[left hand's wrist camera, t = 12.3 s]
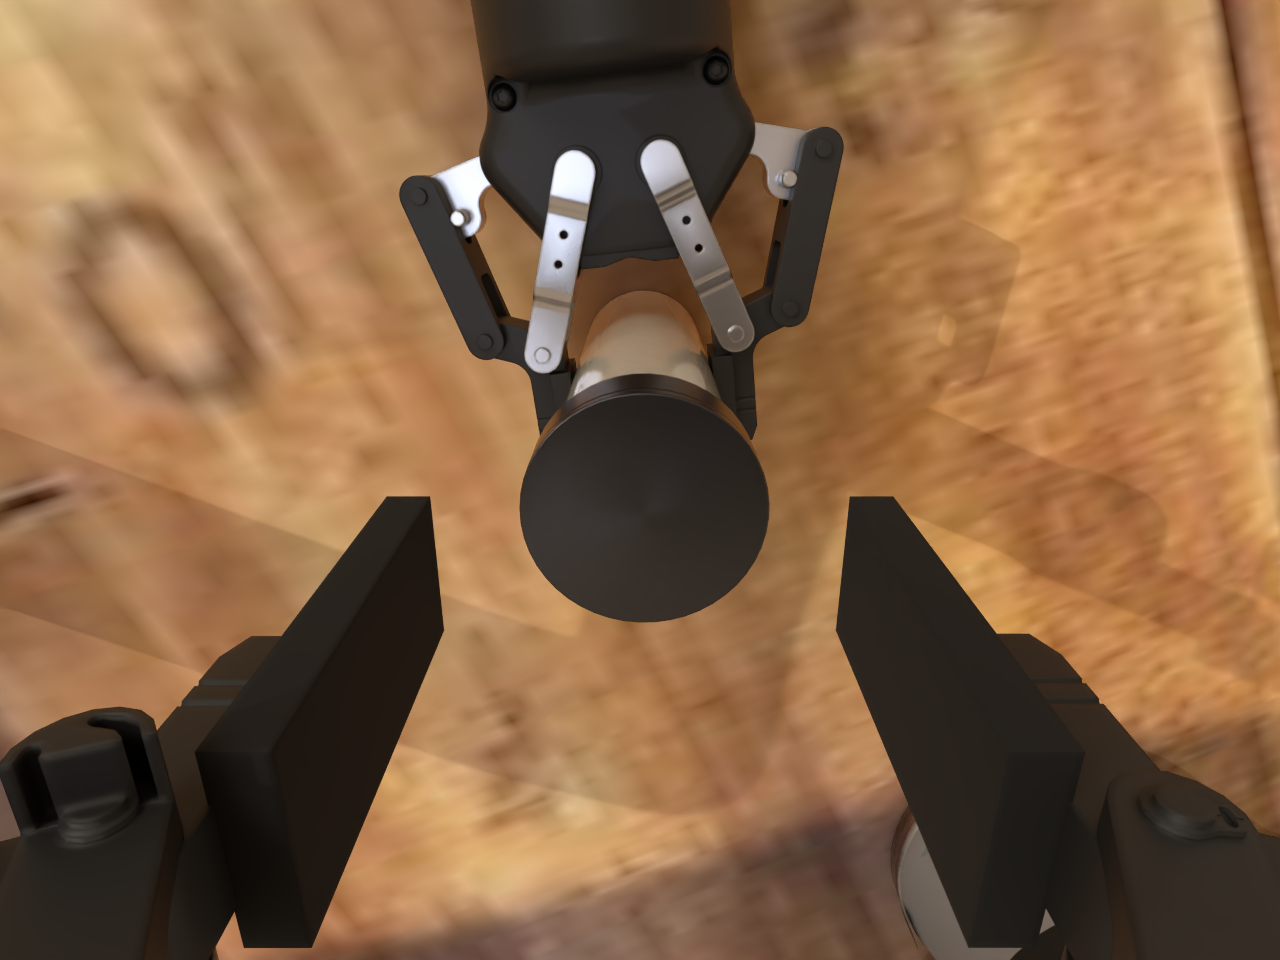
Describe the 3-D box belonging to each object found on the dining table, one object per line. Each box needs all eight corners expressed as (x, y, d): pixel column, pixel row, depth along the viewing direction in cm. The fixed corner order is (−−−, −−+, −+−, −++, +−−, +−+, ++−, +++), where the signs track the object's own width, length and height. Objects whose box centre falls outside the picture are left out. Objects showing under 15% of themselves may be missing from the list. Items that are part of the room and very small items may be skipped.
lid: (629, 323, 18) (627, 339, 16) (806, 471, 19) (821, 500, 17) (484, 497, 19) (469, 528, 18) (657, 624, 20) (658, 664, 19)
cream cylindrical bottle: (636, 266, 33) (630, 358, 17) (722, 340, 34) (795, 494, 18) (564, 354, 34) (495, 518, 18) (650, 423, 35) (656, 636, 19)
